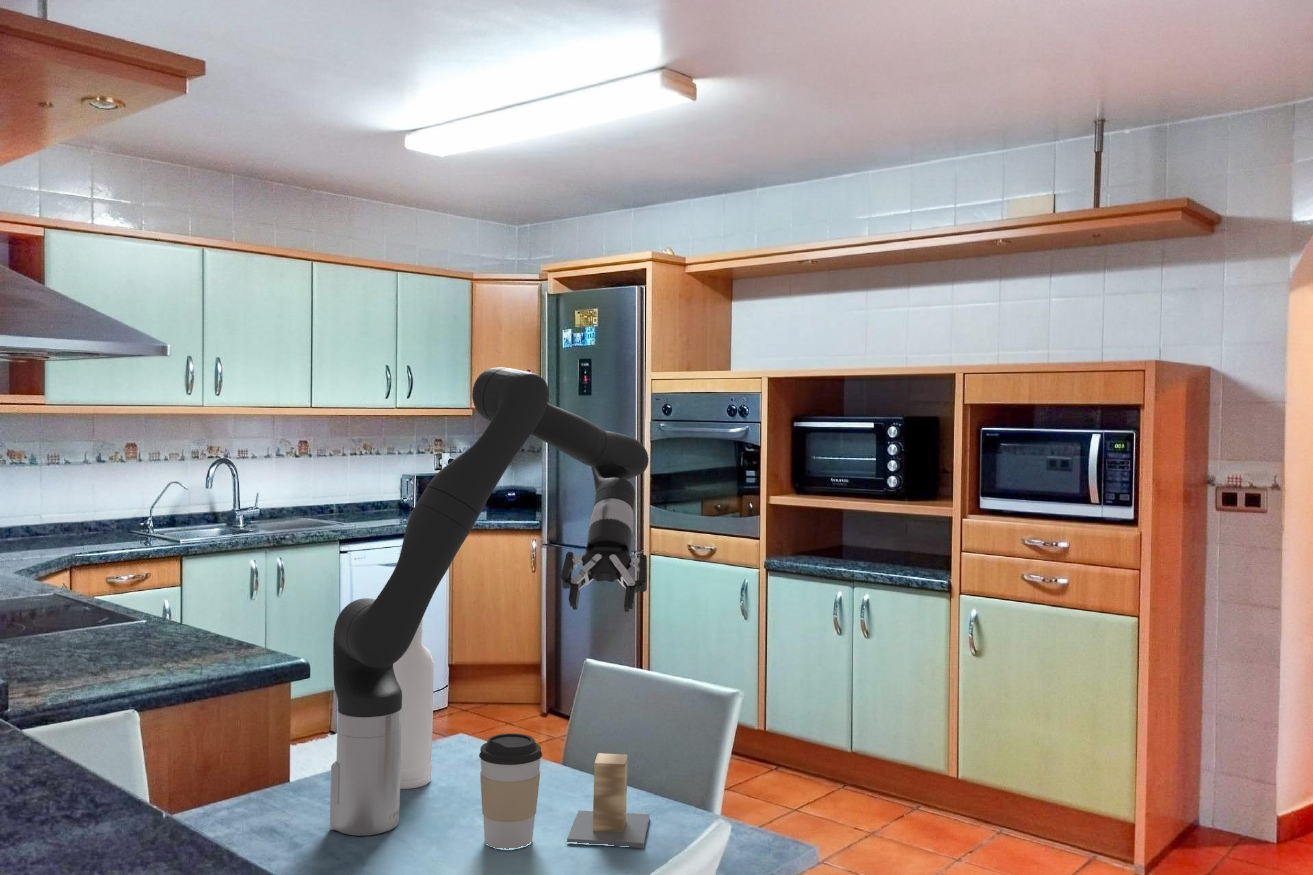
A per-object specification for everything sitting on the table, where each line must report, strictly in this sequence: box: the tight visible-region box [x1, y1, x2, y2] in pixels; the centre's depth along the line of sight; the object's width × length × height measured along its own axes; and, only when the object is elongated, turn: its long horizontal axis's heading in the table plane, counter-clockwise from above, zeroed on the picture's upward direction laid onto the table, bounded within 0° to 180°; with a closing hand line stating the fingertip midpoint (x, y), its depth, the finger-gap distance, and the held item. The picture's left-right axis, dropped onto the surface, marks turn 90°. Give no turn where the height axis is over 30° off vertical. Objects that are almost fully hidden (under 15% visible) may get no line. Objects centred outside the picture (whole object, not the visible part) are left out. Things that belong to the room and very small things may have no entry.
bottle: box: [393, 617, 435, 790], centre depth 170 cm, size 8×8×30 cm
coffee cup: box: [478, 732, 543, 849], centre depth 147 cm, size 9×9×15 cm
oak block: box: [592, 752, 629, 832], centre depth 151 cm, size 4×4×10 cm
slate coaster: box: [566, 809, 650, 849], centre depth 151 cm, size 11×11×1 cm
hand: (600, 608), depth 166 cm, fingers open, 8 cm apart
